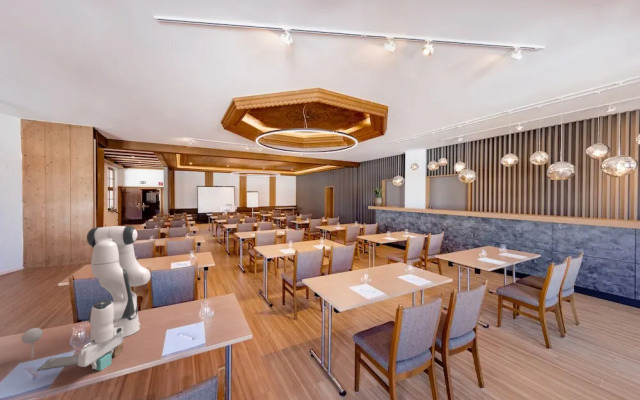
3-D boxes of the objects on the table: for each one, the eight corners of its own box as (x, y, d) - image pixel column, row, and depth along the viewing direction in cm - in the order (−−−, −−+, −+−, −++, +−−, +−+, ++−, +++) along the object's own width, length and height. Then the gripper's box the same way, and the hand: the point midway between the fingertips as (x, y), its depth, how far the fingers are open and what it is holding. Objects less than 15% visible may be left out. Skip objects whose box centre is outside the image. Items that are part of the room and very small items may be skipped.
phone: (49, 361, 127) (49, 358, 127) (88, 355, 131) (88, 353, 131) (36, 371, 119) (36, 369, 119) (78, 365, 124) (78, 363, 124)
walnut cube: (105, 357, 129) (105, 347, 129) (114, 351, 134) (114, 342, 134) (114, 357, 129) (115, 348, 129) (122, 351, 134) (123, 342, 134)
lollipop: (42, 351, 133) (42, 323, 133) (43, 357, 129) (43, 328, 129) (21, 358, 128) (21, 329, 128) (21, 364, 123) (21, 334, 123)
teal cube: (92, 369, 120) (92, 359, 120) (103, 362, 125) (103, 352, 125) (100, 371, 119) (100, 360, 119) (111, 364, 124) (111, 354, 124)
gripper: (86, 348, 111) (86, 379, 111) (125, 325, 132) (125, 351, 132) (73, 347, 112) (73, 378, 112) (114, 324, 132) (114, 350, 132)
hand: (102, 363), depth 122 cm, fingers closed on teal cube, 5 cm apart
